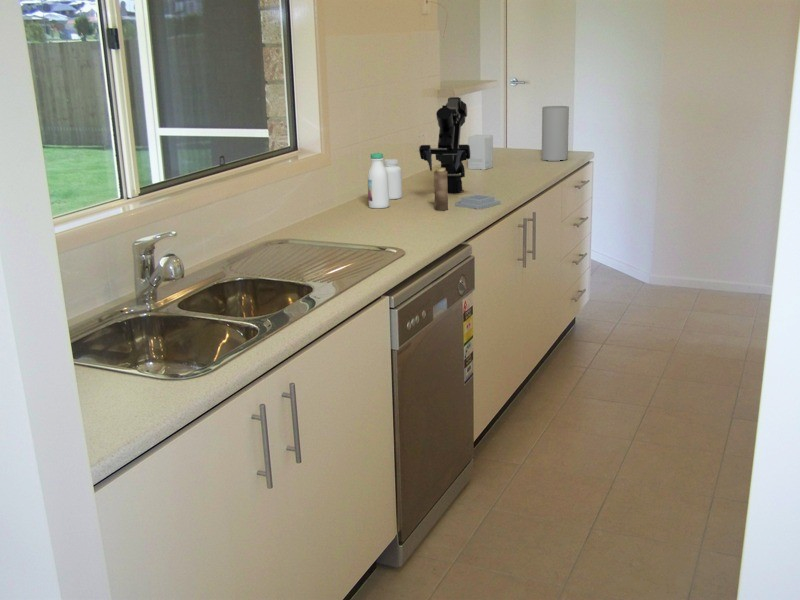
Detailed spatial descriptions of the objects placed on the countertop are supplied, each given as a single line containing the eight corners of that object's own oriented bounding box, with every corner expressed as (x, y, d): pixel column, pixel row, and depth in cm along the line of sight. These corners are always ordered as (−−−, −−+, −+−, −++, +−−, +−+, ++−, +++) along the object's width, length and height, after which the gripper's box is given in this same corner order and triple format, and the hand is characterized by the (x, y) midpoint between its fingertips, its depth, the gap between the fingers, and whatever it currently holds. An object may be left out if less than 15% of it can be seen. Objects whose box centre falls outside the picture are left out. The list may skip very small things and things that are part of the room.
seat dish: (455, 205, 324) (455, 198, 323) (474, 200, 332) (474, 193, 331) (480, 209, 316) (480, 201, 315) (500, 203, 325) (500, 196, 324)
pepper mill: (432, 210, 318) (431, 168, 314) (440, 207, 322) (439, 166, 317) (442, 211, 315) (441, 169, 310) (450, 209, 318) (449, 167, 314)
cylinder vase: (538, 158, 427) (539, 106, 419) (563, 157, 428) (564, 105, 421) (545, 162, 415) (546, 108, 408) (570, 160, 416) (572, 107, 409)
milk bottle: (392, 205, 329) (390, 152, 323) (385, 209, 322) (382, 155, 316) (373, 204, 332) (370, 152, 326) (365, 208, 325) (363, 155, 319)
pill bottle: (405, 196, 345) (404, 158, 341) (397, 200, 338) (395, 161, 334) (387, 195, 348) (386, 158, 344) (378, 199, 342) (377, 161, 337)
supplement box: (493, 167, 407) (493, 134, 402) (485, 170, 400) (484, 137, 395) (476, 166, 411) (476, 134, 407) (467, 169, 404) (467, 136, 400)
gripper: (472, 149, 333) (470, 182, 326) (424, 149, 337) (420, 183, 330) (470, 131, 323) (467, 165, 316) (420, 131, 327) (417, 165, 320)
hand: (443, 170), depth 321 cm, fingers open, 9 cm apart
